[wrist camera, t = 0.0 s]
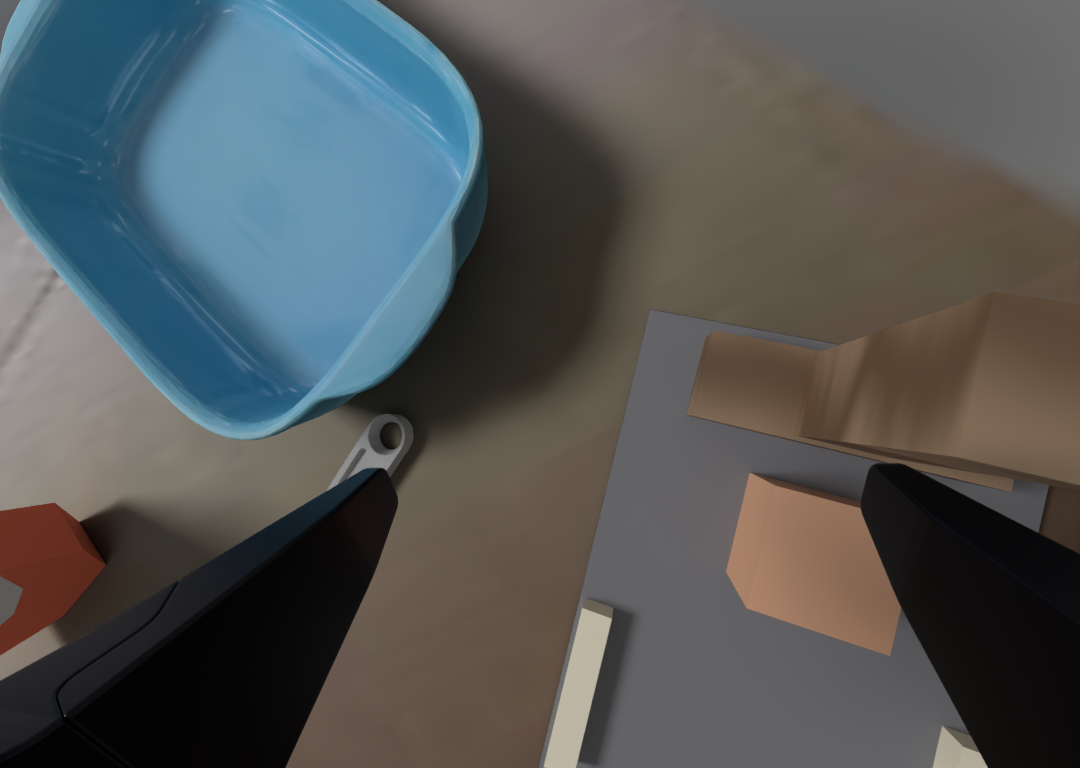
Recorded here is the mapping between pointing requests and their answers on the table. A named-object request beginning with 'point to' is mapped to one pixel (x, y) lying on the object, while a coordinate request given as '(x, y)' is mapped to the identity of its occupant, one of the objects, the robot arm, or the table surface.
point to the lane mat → (731, 607)
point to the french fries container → (41, 569)
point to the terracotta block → (812, 564)
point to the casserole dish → (244, 190)
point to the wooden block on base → (918, 392)
